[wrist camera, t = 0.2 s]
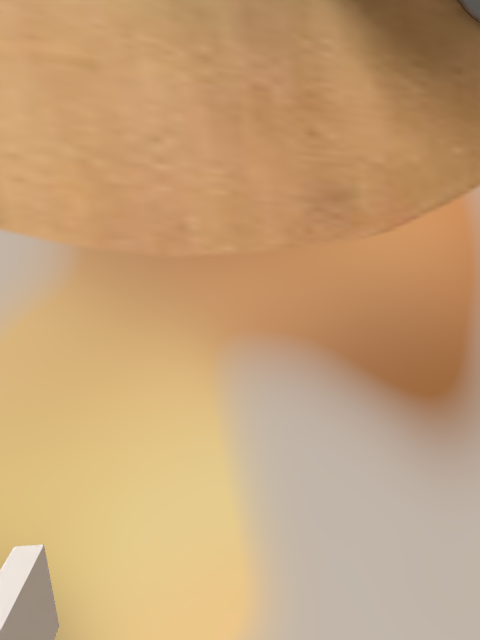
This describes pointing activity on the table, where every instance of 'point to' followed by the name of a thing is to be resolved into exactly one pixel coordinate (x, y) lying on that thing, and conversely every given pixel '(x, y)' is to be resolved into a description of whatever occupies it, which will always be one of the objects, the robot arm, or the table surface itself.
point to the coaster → (472, 8)
